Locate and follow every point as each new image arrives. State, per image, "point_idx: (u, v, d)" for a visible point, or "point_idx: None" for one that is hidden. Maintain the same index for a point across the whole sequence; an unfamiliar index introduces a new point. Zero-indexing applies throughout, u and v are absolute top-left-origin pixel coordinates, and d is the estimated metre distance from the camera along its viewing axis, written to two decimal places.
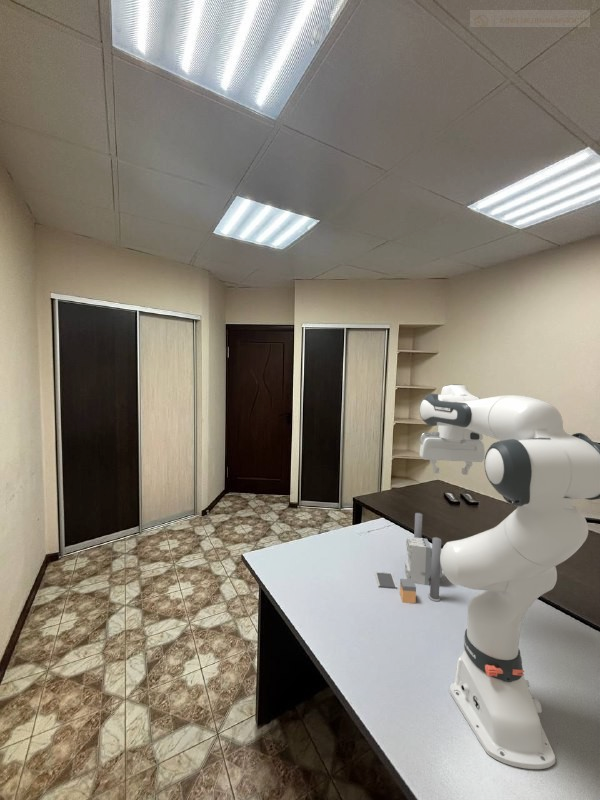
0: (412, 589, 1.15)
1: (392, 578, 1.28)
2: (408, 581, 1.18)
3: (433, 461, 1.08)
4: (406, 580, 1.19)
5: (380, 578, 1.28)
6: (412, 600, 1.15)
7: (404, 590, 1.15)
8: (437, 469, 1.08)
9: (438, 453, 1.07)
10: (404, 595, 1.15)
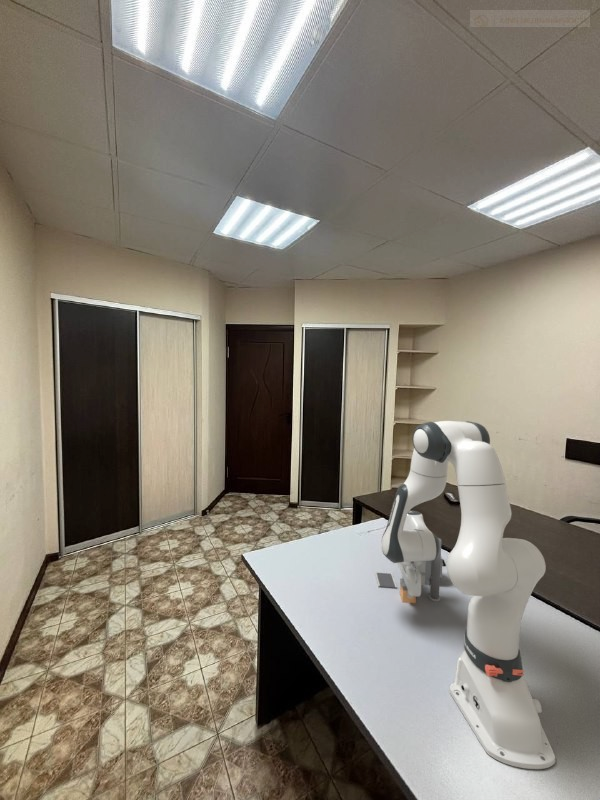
0: None
1: (392, 578, 1.28)
2: None
3: None
4: None
5: (380, 578, 1.28)
6: (412, 600, 1.15)
7: (404, 590, 1.15)
8: None
9: None
10: (404, 595, 1.15)
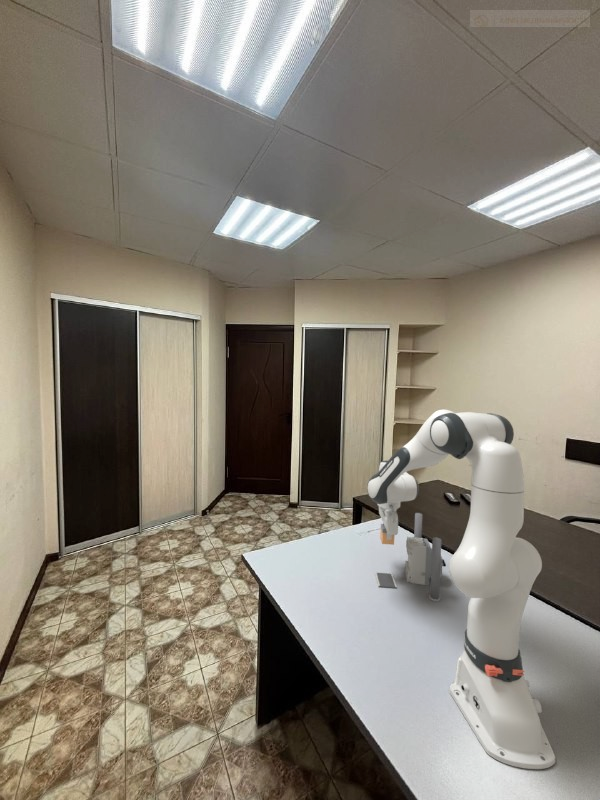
0: None
1: (392, 578, 1.28)
2: None
3: None
4: None
5: (380, 578, 1.28)
6: (391, 541, 1.25)
7: (384, 532, 1.25)
8: None
9: None
10: (384, 537, 1.25)
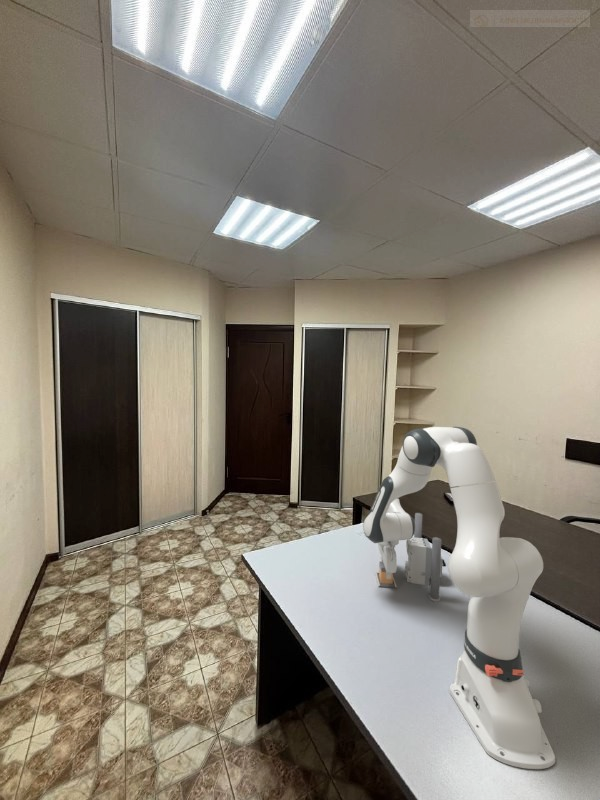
0: None
1: None
2: None
3: None
4: None
5: None
6: (389, 580, 1.25)
7: (382, 571, 1.25)
8: None
9: None
10: (382, 576, 1.25)
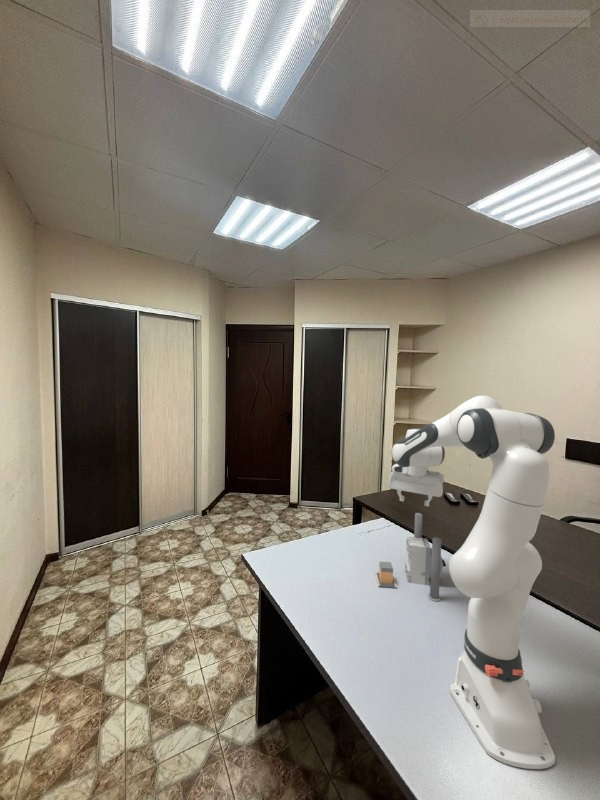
0: (389, 571, 1.25)
1: None
2: (386, 563, 1.28)
3: None
4: (384, 562, 1.29)
5: None
6: (389, 580, 1.25)
7: (382, 571, 1.25)
8: None
9: None
10: (382, 576, 1.25)
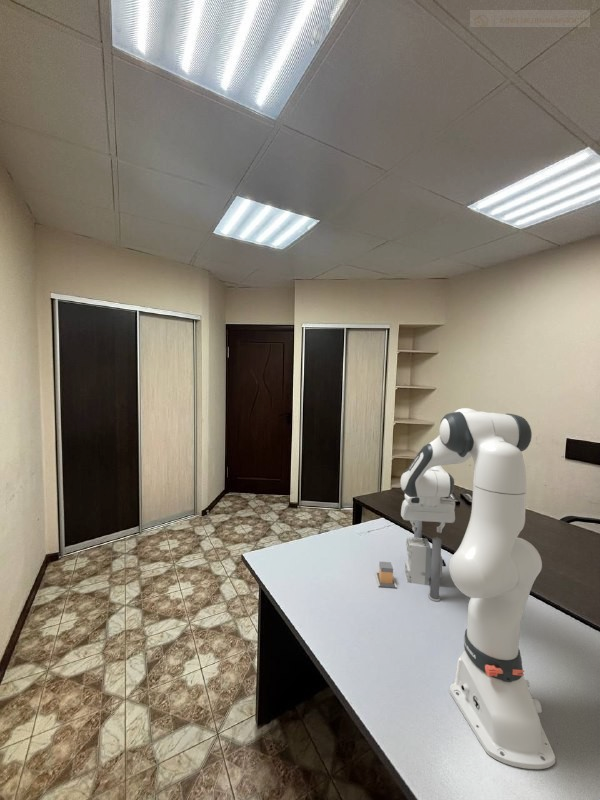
0: (389, 571, 1.25)
1: None
2: (386, 563, 1.28)
3: None
4: (384, 562, 1.29)
5: None
6: (389, 580, 1.25)
7: (382, 571, 1.25)
8: None
9: None
10: (382, 576, 1.25)
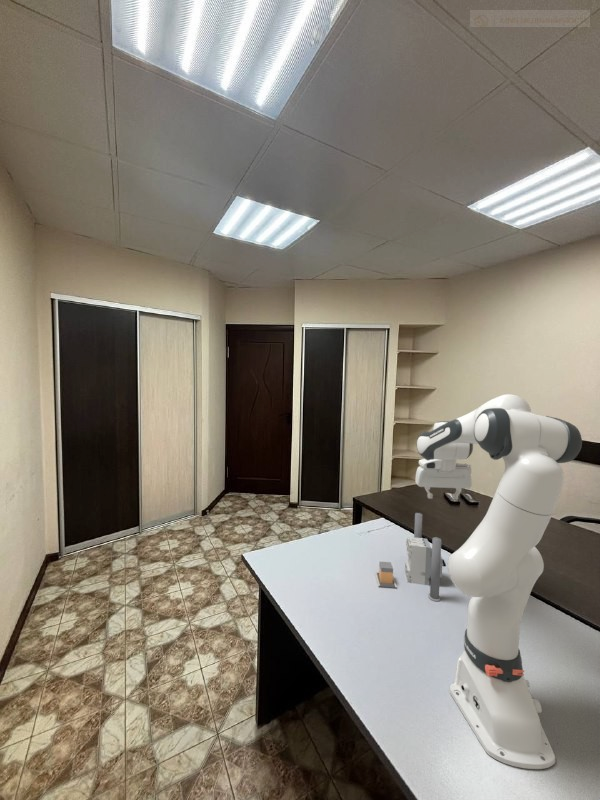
0: (389, 571, 1.25)
1: None
2: (386, 563, 1.28)
3: None
4: (384, 562, 1.29)
5: None
6: (389, 580, 1.25)
7: (382, 571, 1.25)
8: None
9: None
10: (382, 576, 1.25)
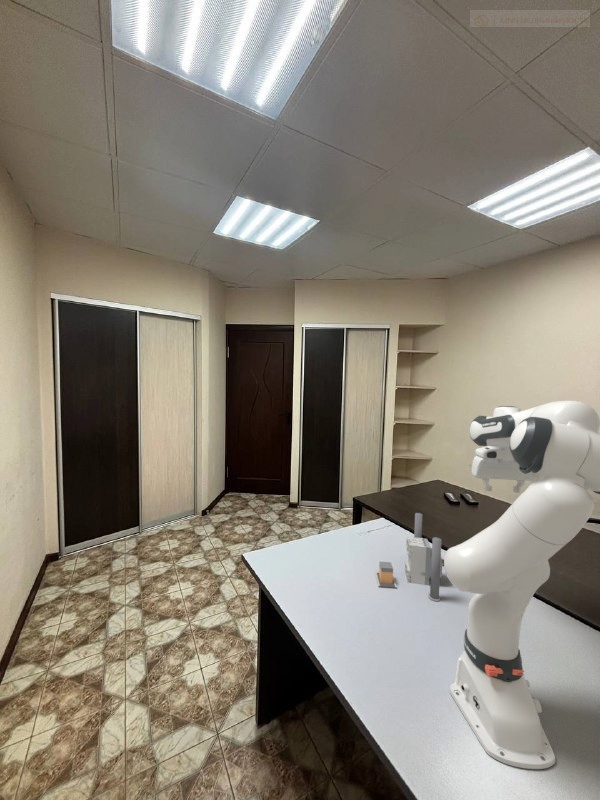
0: (389, 571, 1.25)
1: None
2: (386, 563, 1.28)
3: None
4: (384, 562, 1.29)
5: None
6: (389, 580, 1.25)
7: (382, 571, 1.25)
8: None
9: None
10: (382, 576, 1.25)
